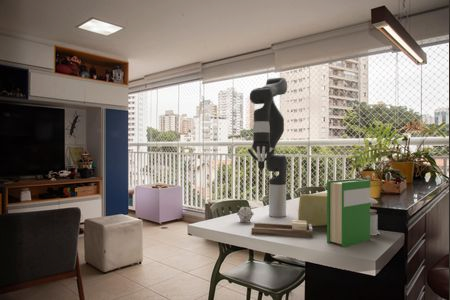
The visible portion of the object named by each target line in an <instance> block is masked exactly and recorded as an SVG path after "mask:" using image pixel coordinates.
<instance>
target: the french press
mask: <svg viewBox="0 0 450 300" xmlns="http://www.w3.org/2000/svg"><path fill="white" fill-rule="evenodd" d="M365 179H371V176H370V175H365ZM378 203H379V201H378V200H376V199H375V198H373V197H370V205H373V204H378ZM377 212H378V211H377V210H376V209H372V208H370V236H378V235H377V234H379V235H381V233H380V232H379V230H378V225H379V223H378V222H379V221H378V219H379V218H378V213H377Z"/></svg>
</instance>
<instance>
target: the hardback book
mask: <svg viewBox="0 0 450 300" xmlns="http://www.w3.org/2000/svg"><path fill="white" fill-rule="evenodd" d="M326 193H327V225H326V243H328V244H331V243H336V244H338V245H341V247H342V248H346V247H350V245H351V246H354V245H357V244H361V243H364V242H368V241H370V240H371V235H370V209H371V204H370V198H371V180H370V179H360V178H347V179H346V178H345V179H335V180H327V181H326Z"/></svg>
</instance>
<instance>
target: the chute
mask: <svg viewBox="0 0 450 300" xmlns="http://www.w3.org/2000/svg"><path fill="white" fill-rule="evenodd" d="M250 233H251V235H263V236H276V237H277V236H280V237H292V238H293V237H296V238H313V237H314V236H313V226H312V225H311V224H308V225H307V231H306V230H292V224H287V223H286V224H285V223H269V222H268V223H265V222H254V223H253V227H251V232H250Z"/></svg>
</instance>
